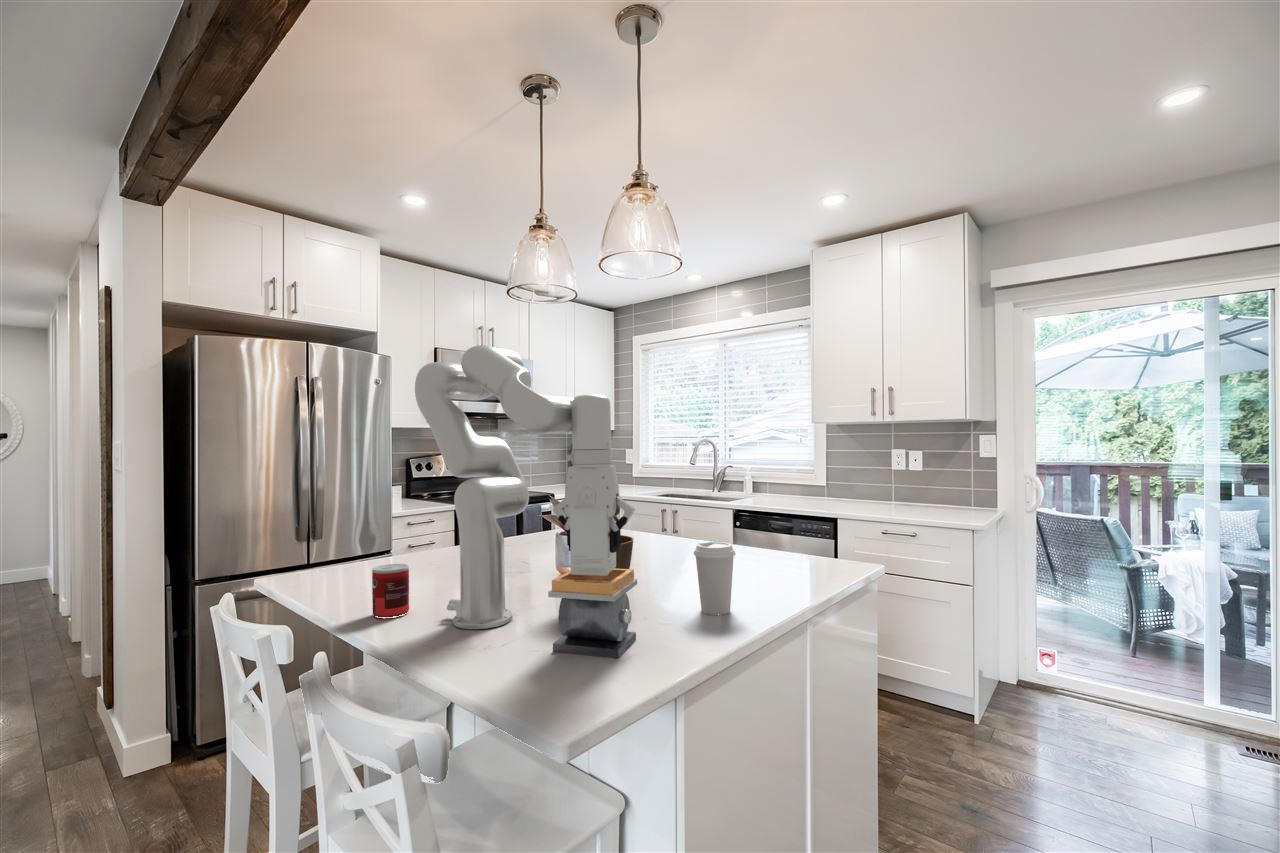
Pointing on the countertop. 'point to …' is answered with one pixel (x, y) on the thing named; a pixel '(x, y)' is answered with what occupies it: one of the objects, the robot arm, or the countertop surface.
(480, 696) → the countertop surface
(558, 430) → the robot arm
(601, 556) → the supplement box
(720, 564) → the coffee cup
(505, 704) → the countertop surface
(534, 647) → the countertop surface
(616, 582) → the tray on grey cylinder
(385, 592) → the canned food
